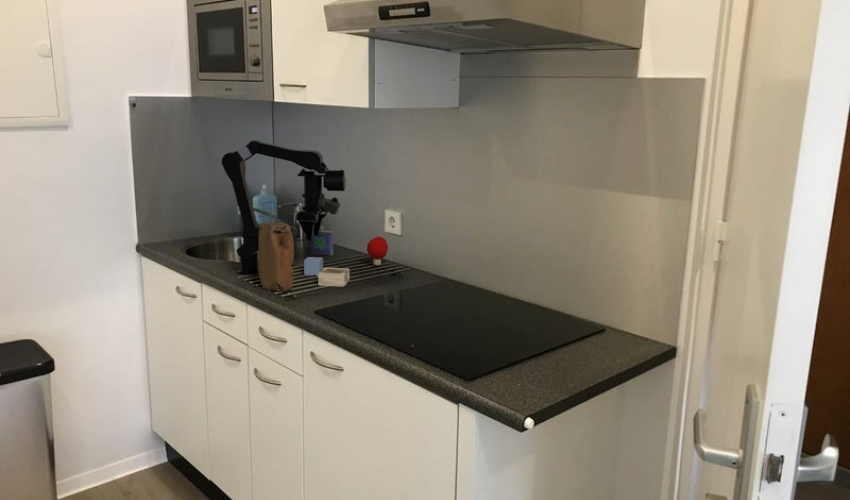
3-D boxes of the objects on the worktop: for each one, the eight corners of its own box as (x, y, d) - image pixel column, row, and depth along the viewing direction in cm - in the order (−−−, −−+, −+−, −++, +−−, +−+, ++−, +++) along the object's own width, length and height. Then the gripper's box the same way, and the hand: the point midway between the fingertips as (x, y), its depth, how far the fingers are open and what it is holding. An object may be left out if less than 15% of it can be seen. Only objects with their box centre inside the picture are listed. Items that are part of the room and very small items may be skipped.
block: (257, 286, 206) (255, 221, 202) (278, 282, 211) (277, 219, 207) (276, 294, 198) (275, 227, 194) (298, 289, 204) (297, 224, 199)
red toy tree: (372, 262, 241) (372, 234, 239) (391, 264, 239) (391, 236, 237) (362, 268, 232) (363, 239, 230) (382, 270, 230) (382, 241, 228)
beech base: (324, 279, 217) (324, 267, 216) (349, 280, 216) (349, 268, 215) (318, 286, 209) (318, 273, 208) (343, 287, 208) (343, 274, 208)
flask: (334, 254, 251) (334, 226, 248) (331, 256, 248) (330, 227, 246) (311, 252, 253) (311, 224, 251) (308, 254, 251) (307, 225, 248)
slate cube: (308, 271, 226) (308, 257, 225) (322, 272, 225) (322, 257, 224) (304, 275, 221) (304, 260, 220) (319, 276, 221) (319, 261, 219)
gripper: (331, 195, 207) (331, 245, 211) (343, 187, 225) (343, 233, 229) (295, 193, 208) (296, 243, 212) (311, 186, 226) (311, 232, 230)
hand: (313, 238), depth 220 cm, fingers open, 9 cm apart
